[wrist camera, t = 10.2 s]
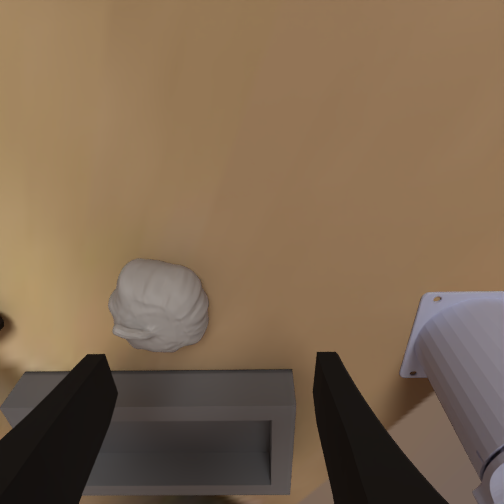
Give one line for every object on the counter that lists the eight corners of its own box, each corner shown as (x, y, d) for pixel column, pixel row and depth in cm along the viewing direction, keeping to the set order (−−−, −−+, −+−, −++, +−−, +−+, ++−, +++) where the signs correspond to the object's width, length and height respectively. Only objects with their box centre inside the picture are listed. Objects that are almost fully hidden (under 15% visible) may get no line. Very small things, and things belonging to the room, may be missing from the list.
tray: (292, 369, 26) (296, 405, 23) (287, 458, 32) (289, 494, 29) (25, 371, 26) (-1, 407, 23) (71, 459, 32) (55, 495, 30)
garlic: (103, 279, 22) (64, 340, 17) (156, 225, 20) (127, 278, 15) (178, 330, 24) (160, 396, 19) (232, 285, 22) (227, 348, 17)
